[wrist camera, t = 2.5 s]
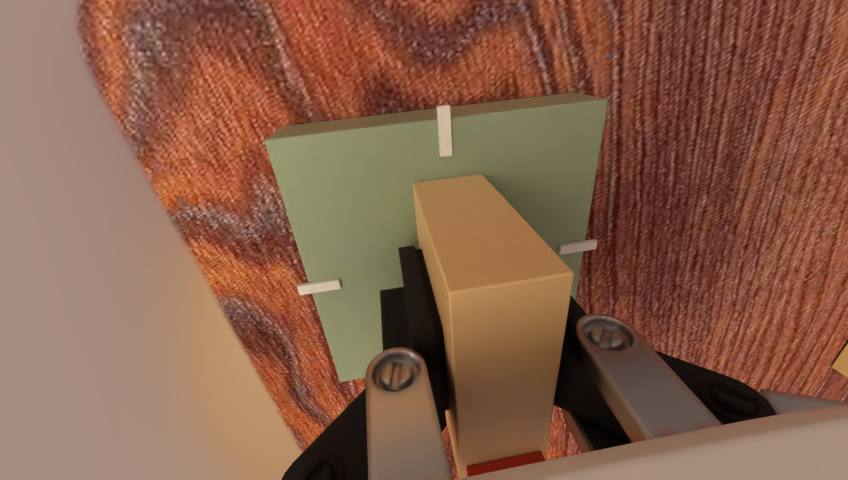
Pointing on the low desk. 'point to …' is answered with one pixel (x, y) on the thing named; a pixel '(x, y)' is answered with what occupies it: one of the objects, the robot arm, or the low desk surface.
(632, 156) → the low desk surface
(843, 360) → the button box
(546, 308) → the tan wedge box
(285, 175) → the panel
